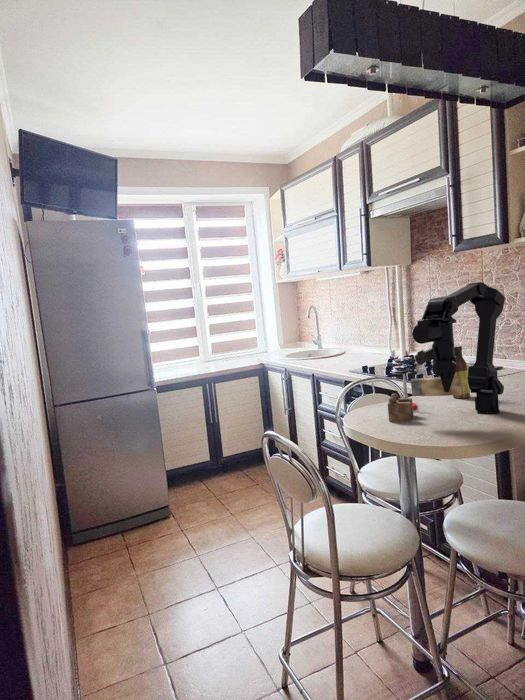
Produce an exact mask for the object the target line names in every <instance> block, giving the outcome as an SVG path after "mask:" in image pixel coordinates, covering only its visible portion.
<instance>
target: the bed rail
mask: <svg viewBox="0 0 525 700" xmlns="http://www.w3.org/2000/svg"><path fill="white" fill-rule="evenodd" d="M410 386H411V396H412V397H444V396H445V397H447V396H453V395H462V392H461V381H460V376H454V378H453V381H452V384H451V387H450V390H449V392H445V391H444V388H443V385H442V381H441V378H440V376H436V377H421V378H411V379H410Z"/></svg>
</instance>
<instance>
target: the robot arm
mask: <svg viewBox="0 0 525 700" xmlns="http://www.w3.org/2000/svg"><path fill="white" fill-rule="evenodd" d="M505 298H506V297H505V295H504V294H503V293H502V292H500V291H499V290H498V289H497V288H495V287H494V288H493V287H491V286H489V285H487V284H486V283H485V282H482V281H478V282H471V283H468V284H466V285H465V286H463V287H462V288H459V289H458V290H456V291H453V292H452V293H450V294H448V295H445V296H439V297H434V298H431V299H429V300H428V301H427V305H426V306H425V309H424V312H423V315H422V317H421V319H420V320H417V321H416V322H417V324H416V325H415V326H414V327H413V330H412V332H411V334H412V339H413V340H414V341H415V342H416V343H417V344H421V345H423V344H427V343H432V345H431V348H429V349H427V350H423V349H422V350H420V351H418V352H417V353H416V354H415V355H414V356H413V357H414V359H415V362H416V363H417V366H422V365H424V364H425V363H427V362H430V361H432V362H433V363H432V366H431V367H432V372H433V373H435V374H437V375H438V377H440V378H441V381H442V385H443V388H444V391H445V392H449V390H450V387H451V384H452V381H453V378H454V375H455V373H456V356H455V352H454V346H455V341H454V327H453V325H454V324H456V323H457V319H456V318H454V317H453V316H454V315H455V314H456V313H457V312H458V311H459V307H460V306H462V305H464V304H466V303H467V302H470V303H471V304H472V305H474V311H475V314H476V315H477V316H478V318H479V322H478V331H477V342H476V343H477V344H476V356H475V362H474V363H473V365H471V366H468V367H467V370H468V377H467V379H468V385H469V388H470V394H475V395H476V396H474V408H475V409H474V410H475V411H476V412H477V414H500V413H501V411H500V404H499V402H500V401H499V395H503V393H504V389H505V386H504V384H503V383H502V382H501V381H500V380H499V378H498V370H497V368H496V367H495V365H494V364H493V362H494V351H495V340H496V325H497V319H498V318H499V317H500V316H501V315H502V313H503V311H504V305H505V303H506V302H505V301H506V299H505Z"/></svg>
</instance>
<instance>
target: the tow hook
mask: <svg viewBox="0 0 525 700" xmlns="http://www.w3.org/2000/svg"><path fill="white" fill-rule="evenodd" d="M402 378H403V379H402V386H403V387H402V389H403V396H402V398H409V395H408V388H407V387H408V386H407V379H406V374H405V373H403V374H402ZM412 403H413V410H417V407H418V403H415V402H412Z"/></svg>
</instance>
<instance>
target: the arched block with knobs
mask: <svg viewBox="0 0 525 700" xmlns="http://www.w3.org/2000/svg"><path fill="white" fill-rule="evenodd" d="M413 403H414V402H413V398H412V397H408V398H403V397H399V394H397V393H394V392H393V393H392V394H391V396H390V397H389V398H388V402H387V411H388V412H387V413H388V422H412V419H413V417H414V409H413Z"/></svg>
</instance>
